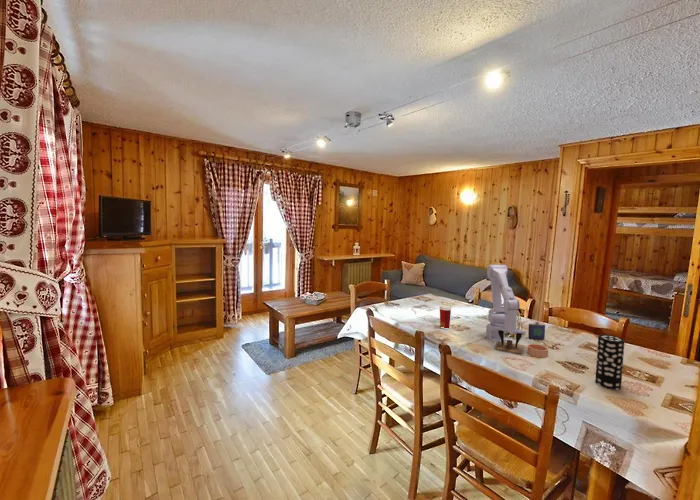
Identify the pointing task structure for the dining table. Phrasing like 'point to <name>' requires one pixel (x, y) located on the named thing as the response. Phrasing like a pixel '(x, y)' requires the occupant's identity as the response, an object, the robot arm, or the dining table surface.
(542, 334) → the flask
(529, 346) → the bowl
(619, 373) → the white-spotted black cylinder
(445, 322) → the pint of red drink
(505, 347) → the lid
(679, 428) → the dining table surface
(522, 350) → the mat
